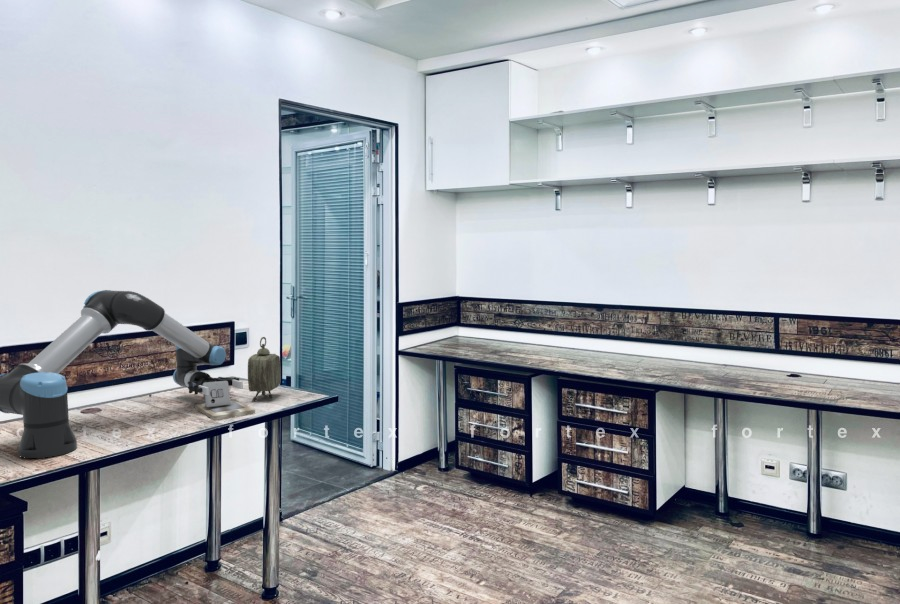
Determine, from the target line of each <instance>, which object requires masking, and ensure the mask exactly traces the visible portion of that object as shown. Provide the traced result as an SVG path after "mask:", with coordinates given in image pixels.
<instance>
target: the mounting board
mask: <svg viewBox="0 0 900 604" xmlns="http://www.w3.org/2000/svg"><path fill="white" fill-rule="evenodd" d="M230 401H231V403H230V405H225V406H216V407H205V403H204V402H203V403H198V404H194V407H195V408H196V409H195V410H197V411H198V410H199V411H198V412H200V413H201V412H202V413H201V414H203V413H204V414H203V415H205V416H206V415H207V416H206V417H208V418H209V417H210V418H209V419H211V420H212V421H219V420H218V419H220V420H225V419H224V418H226V419H231V417H232V418H236V417H235V416H238V417H242V416H241V415H244V416H247V415H246V414H250V415H254V414H253V413H255V414H256V409H255V408H253V407H251V406H249V405H247V404H246V403H243V402H242V401H239V400H238V399H235V398H233V399H232V398H230Z"/></svg>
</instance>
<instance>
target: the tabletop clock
mask: <svg viewBox="0 0 900 604" xmlns="http://www.w3.org/2000/svg"><path fill="white" fill-rule="evenodd" d="M263 340H264V343H262V341H263ZM259 346H260V348H259V349H258V350H257V353H255V354H253V355H251V356H249V358H248V359H247V382H248V383H247V384H248V390H249V392H256V393H255V396H253V397H252V401H253V402H257V400H258V396H259V394H260V393H261V395H263V396H265V395H266V392H268V394H269V395H268V398H269V399H273V397H274V396H273V394H271V391H274V390H275V389H276V388H278V387H279V386H280V385H281V382H282V381H281V379H282V376H281V375H282V371H281V370H282V369H281V368H282V367H281V357H280V356H279V355H277V354H276V353H271V352H270V350H269V349H268V348H267V347H266V346H267V338H266V337H265V336H262V337H261V338H260V341H259Z"/></svg>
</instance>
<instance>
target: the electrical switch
mask: <svg viewBox="0 0 900 604" xmlns="http://www.w3.org/2000/svg"><path fill="white" fill-rule="evenodd" d="M203 386H205V387H208V388H209V395H204V394H202V395H203V404H204V403H205V407H216V406H225V405H230V403H231V401H230V399H231V394H230V386H228V381H217V382H205V383H203Z"/></svg>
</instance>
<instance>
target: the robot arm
mask: <svg viewBox="0 0 900 604" xmlns="http://www.w3.org/2000/svg"><path fill="white" fill-rule="evenodd" d="M83 304H84V306H83V308H82V309H81V310H80V317H79V318H77V320H76V321H73V323H72V324H71V325H70V326H69V327H68V328H66V329H65V330H64V331H63V332H62V333H61V334H60V335H59V336H57V337H56V338H55V339H54V340H53V341H52V342H51V343H50V344H48V345H47V346H46V347H45V348H44V349H43V350H42V351H40V353H38V354H37V355H36V356H35V357H34V358H33V359H32V360H30V361H29V362H28V363H19V364H18V365H17V366H16V367H14V369H12V370H11V371H10V372H9V373H2V374H0V412H1V413H3V414H15V415H21V416H22V421H23V431H22V434H21V438H20V442H19V444H18V446H17V447H18V448H17V449H18V450H17V452H18V457H19V456H21V457H25V458H40V459H46V458H45V457H48V458H53V457H52V456H54V457H57V456H58V455H59V456H62V455H65V453H66V454H68V452H69V453H71V452H73V451H75V450H76V449H77V448H78V442H77V441H78V440H77V438H76V435H75V434H74V431H73V429H72V427H71V425H70V421H69V420H70V419H69V418H70V417H69V400H68V399H69V398H68V384H67V380H66V377H65V376H64V375H62V374H60V373H61V372H62V371H63V370H64V369H65V368H67V366H69V364H71V363H72V361H74V360H75V359H76V358H77V357H78V356H79V355H80V354H81V353H82V352H83V351H84V350H86V348H88V347H89V346H90V345H91V344H92V343H93V342H94V341H95V340H96V339H97V338H98V337H99V336H101V335H102V334H109V333H110V332H111V331H113V330H114V329H115V328H116V327H117V326H118V325H131V326H137V327H138V328H139V327H140V328H141V329H143V330H145V331H152V332H154V333H155V334H157V335H158V336H160V337H162V338H164V339H165V340H167V341H168V342H170V343H172V344H173V345H175V358H176V369H175V370H174V372H173V375H172V379H173V381H174V383H176V385H179V386H180V387H183V388H184V387H185V388H187V389H188V393H189V394H192V393H193V392H194V395H199V394H202V395H203V394H204V395H209V388H208V387H205V386H203V383H205V382H217V381H228V386H229V387H231V386H232V388H235V389H236V388H237V389H240V390H243V389H244V388H243V387H244V385H243V384H244V383H243V381H241V380H240V377H236V376H234V377H222V376H218V377H212V376H211V375H210V374H209V373H208V372H205V371H200V370H198V369H197V366H198V364H199V365H209V366H219V365H222V364H223V363H224V362H225V360H226V357H227V353H226V350H225V348H224V347H223V346H219V345H213V344H212V343H210V342H208V341H207V340H206V339H204V338H202V337H201V336H199V334H197V333H196V332H194V331H193V330H190V329H189V328H188V327H186V326H185V325H183V324H182V323H181V322H179V321H178V320H176V319H174V318H173V317H171V316H170V315H169V314H167V313H166V310H165V309H164V308H163V307H162V306H160V304H158V303H157V302H154V301H153V300H152V299H150V298H148V297H146V295H145V296H144V295H143V294H140V293H138V292H137V291H132V290H111V289H108V290H107V289H103V290H97V291H95V292H92V293H90V295H88V296H87V298H86V299H85V300H84V303H83ZM204 395H203V396H204ZM59 456H58V457H59ZM21 457H20V458H21ZM25 458H24V459H25Z"/></svg>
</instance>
